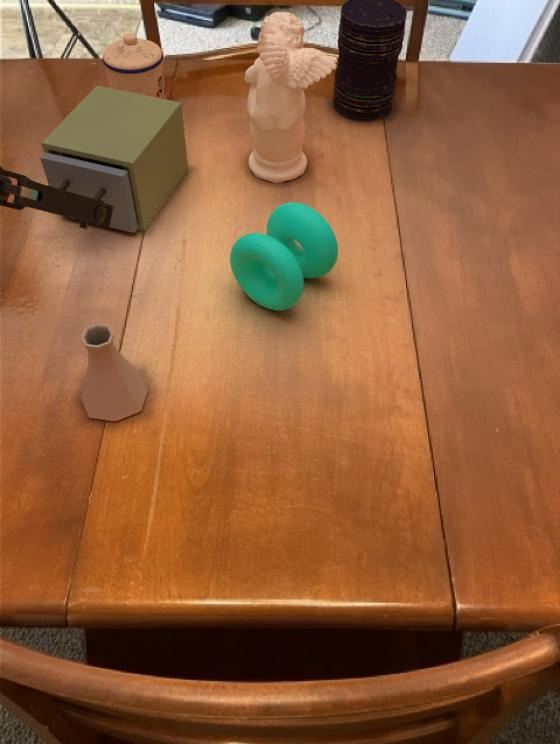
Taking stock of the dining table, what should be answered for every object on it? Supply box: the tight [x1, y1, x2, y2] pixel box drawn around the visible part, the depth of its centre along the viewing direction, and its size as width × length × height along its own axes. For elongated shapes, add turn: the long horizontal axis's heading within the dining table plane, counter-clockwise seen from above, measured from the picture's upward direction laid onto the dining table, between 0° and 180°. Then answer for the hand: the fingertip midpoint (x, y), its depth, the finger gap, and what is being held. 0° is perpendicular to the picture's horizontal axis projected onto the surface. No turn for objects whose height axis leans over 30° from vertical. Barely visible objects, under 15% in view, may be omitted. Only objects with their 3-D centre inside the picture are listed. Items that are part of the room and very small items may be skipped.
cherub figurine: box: [244, 11, 338, 184], centre depth 91 cm, size 12×12×22 cm
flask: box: [80, 322, 149, 422], centre depth 70 cm, size 7×7×10 cm
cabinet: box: [41, 85, 189, 232], centre depth 92 cm, size 15×13×11 cm
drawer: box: [40, 151, 138, 234], centre depth 89 cm, size 18×11×9 cm, turn 161°
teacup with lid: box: [101, 32, 168, 100], centre depth 105 cm, size 12×9×12 cm
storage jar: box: [332, 0, 408, 123], centre depth 105 cm, size 10×10×15 cm
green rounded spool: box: [229, 201, 339, 311], centre depth 81 cm, size 10×10×10 cm
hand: (56, 204), depth 80 cm, fingers open, 13 cm apart
